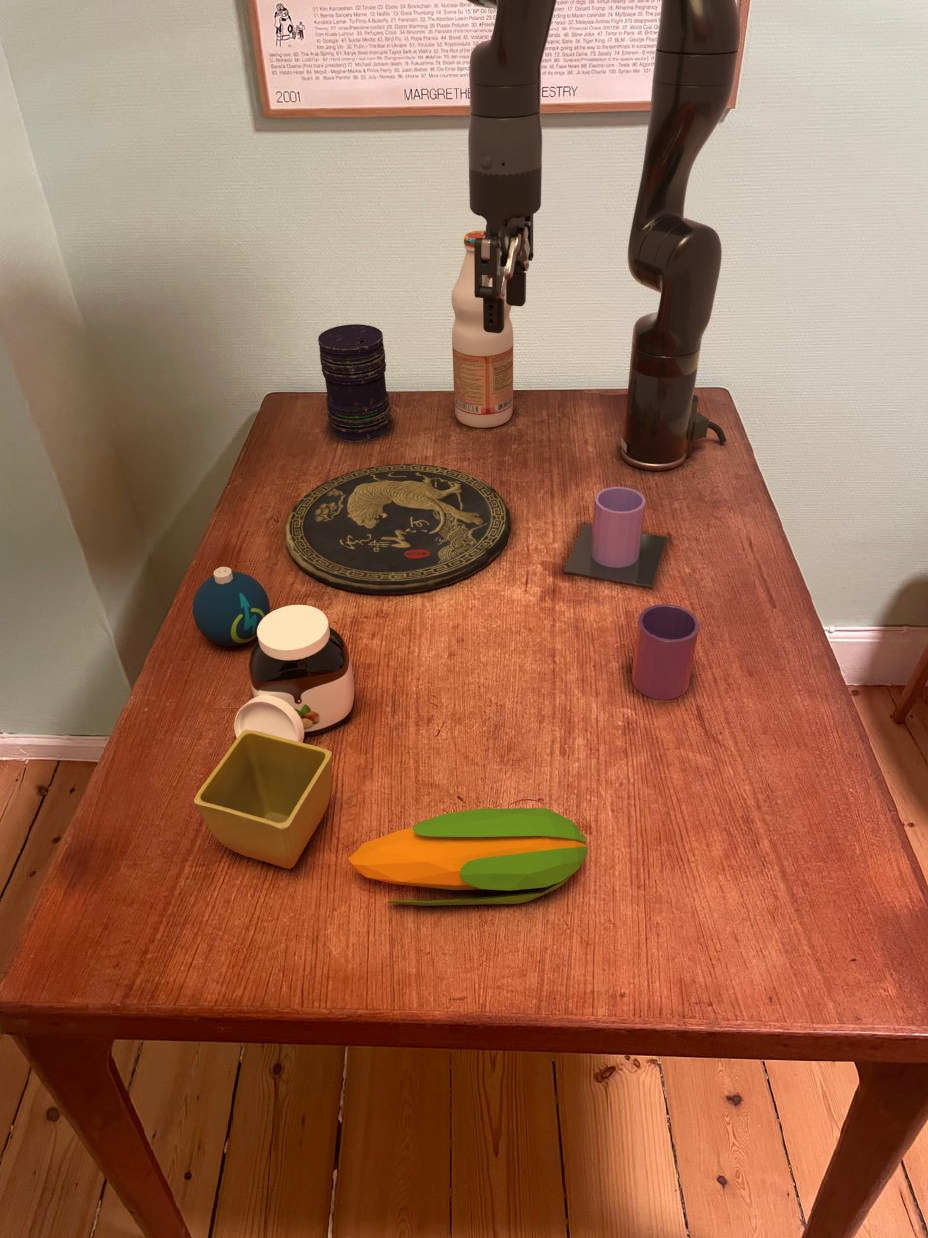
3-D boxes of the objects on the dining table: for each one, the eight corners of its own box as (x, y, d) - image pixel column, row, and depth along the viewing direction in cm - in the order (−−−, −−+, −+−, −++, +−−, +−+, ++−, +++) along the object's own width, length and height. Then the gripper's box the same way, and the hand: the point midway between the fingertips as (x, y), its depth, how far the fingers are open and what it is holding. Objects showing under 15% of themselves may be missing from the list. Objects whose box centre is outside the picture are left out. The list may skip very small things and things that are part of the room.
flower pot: (346, 815, 82) (334, 749, 77) (302, 894, 76) (286, 828, 70) (261, 793, 85) (244, 727, 79) (213, 867, 78) (190, 801, 73)
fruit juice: (455, 430, 141) (448, 246, 123) (454, 403, 148) (447, 226, 130) (514, 428, 141) (516, 243, 123) (511, 401, 148) (512, 223, 130)
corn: (598, 851, 69) (340, 869, 69) (593, 913, 74) (350, 930, 73) (582, 782, 75) (344, 798, 75) (578, 843, 80) (354, 859, 79)
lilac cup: (621, 535, 116) (626, 482, 111) (648, 559, 112) (655, 504, 107) (582, 548, 114) (585, 494, 109) (607, 572, 110) (612, 517, 105)
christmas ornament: (205, 668, 99) (185, 597, 93) (197, 623, 105) (178, 554, 99) (281, 651, 101) (265, 579, 94) (269, 607, 107) (254, 538, 101)
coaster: (583, 526, 119) (583, 523, 118) (667, 539, 116) (667, 537, 115) (563, 573, 111) (563, 570, 110) (652, 589, 108) (652, 586, 107)
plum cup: (666, 655, 98) (675, 597, 93) (700, 688, 94) (711, 630, 89) (620, 672, 96) (627, 614, 91) (653, 707, 92) (661, 648, 87)
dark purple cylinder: (317, 427, 143) (304, 336, 133) (365, 407, 148) (356, 318, 138) (355, 448, 137) (343, 355, 128) (404, 427, 142) (397, 335, 133)
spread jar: (354, 680, 97) (342, 595, 89) (363, 758, 88) (350, 670, 81) (242, 696, 95) (220, 611, 88) (240, 776, 87) (215, 689, 79)
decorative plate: (503, 589, 105) (256, 579, 108) (503, 602, 106) (258, 592, 109) (516, 464, 129) (312, 459, 131) (516, 476, 130) (313, 471, 132)
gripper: (520, 180, 85) (519, 345, 95) (558, 147, 96) (553, 299, 106) (447, 176, 87) (453, 338, 97) (491, 144, 98) (492, 293, 108)
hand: (505, 317), depth 102 cm, fingers open, 8 cm apart
